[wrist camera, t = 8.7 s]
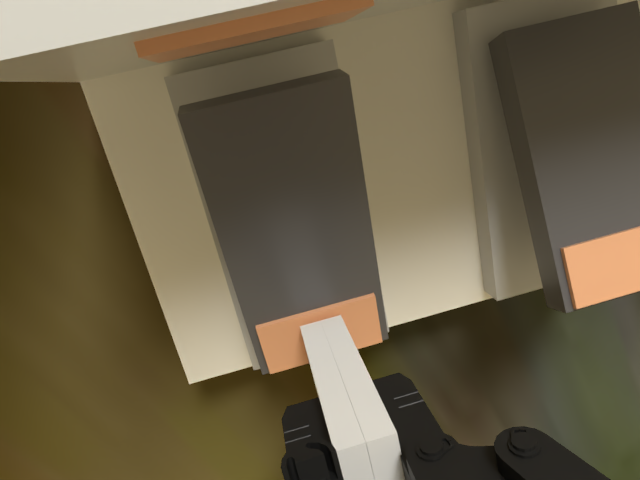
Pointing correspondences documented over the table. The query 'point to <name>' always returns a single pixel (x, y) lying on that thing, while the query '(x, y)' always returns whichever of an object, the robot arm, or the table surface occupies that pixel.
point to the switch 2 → (577, 148)
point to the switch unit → (372, 123)
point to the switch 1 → (290, 210)
